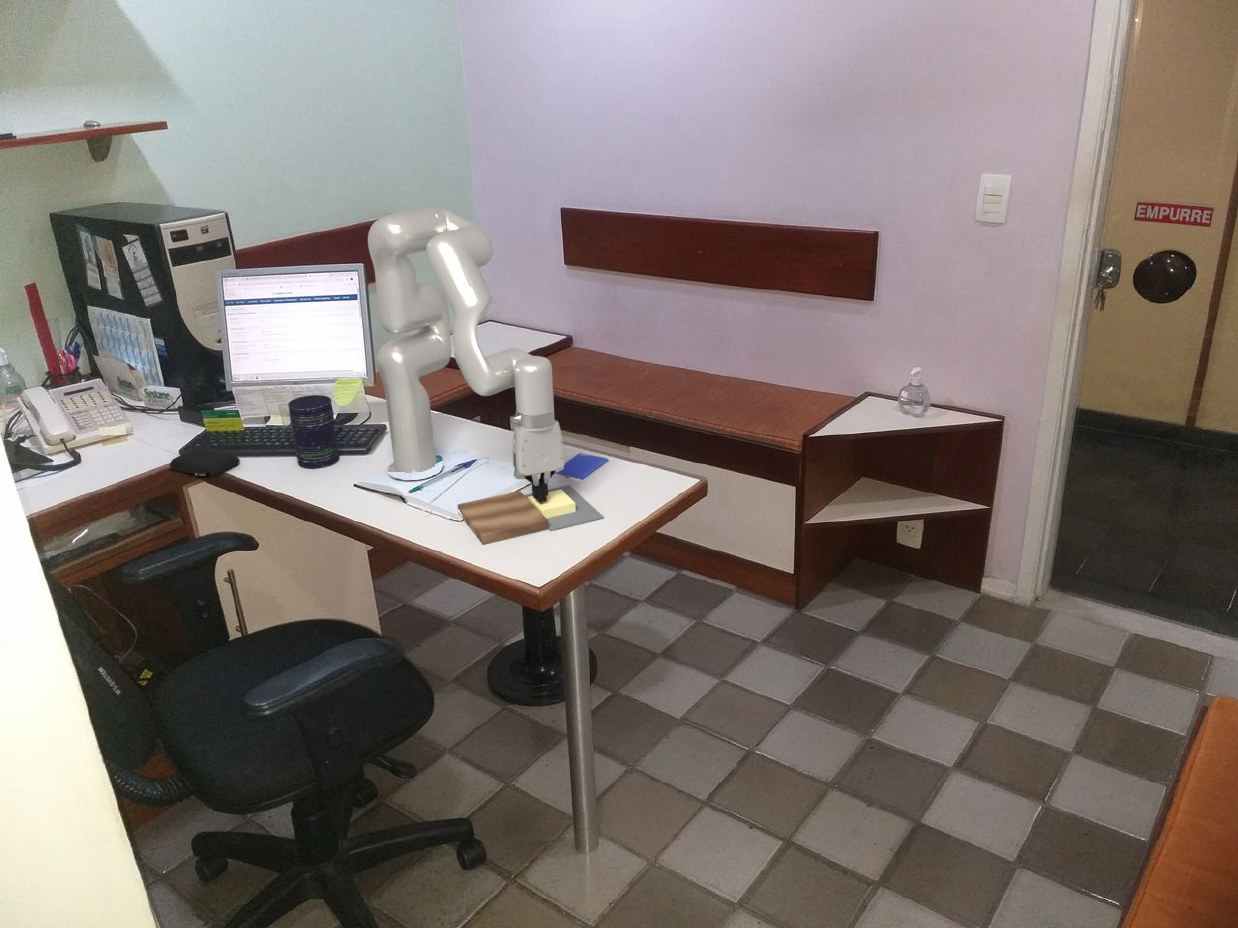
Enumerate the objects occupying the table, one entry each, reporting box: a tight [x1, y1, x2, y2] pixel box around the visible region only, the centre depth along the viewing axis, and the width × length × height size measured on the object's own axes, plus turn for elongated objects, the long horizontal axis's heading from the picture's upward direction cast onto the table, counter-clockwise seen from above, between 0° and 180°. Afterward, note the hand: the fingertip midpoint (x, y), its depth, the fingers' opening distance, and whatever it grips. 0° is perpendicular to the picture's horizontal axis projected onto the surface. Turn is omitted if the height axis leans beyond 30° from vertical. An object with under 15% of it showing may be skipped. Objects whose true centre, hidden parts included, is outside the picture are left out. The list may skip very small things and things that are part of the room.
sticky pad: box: [528, 490, 576, 518], centre depth 204 cm, size 8×8×2 cm
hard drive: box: [552, 452, 610, 483], centre depth 224 cm, size 2×8×12 cm
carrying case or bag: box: [169, 448, 241, 478], centre depth 228 cm, size 11×3×15 cm
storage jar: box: [287, 394, 341, 470], centre depth 228 cm, size 10×10×15 cm
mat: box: [524, 484, 605, 532], centre depth 206 cm, size 18×12×1 cm, turn 26°
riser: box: [457, 490, 549, 545], centre depth 200 cm, size 16×14×2 cm
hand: (540, 499), depth 203 cm, fingers closed
